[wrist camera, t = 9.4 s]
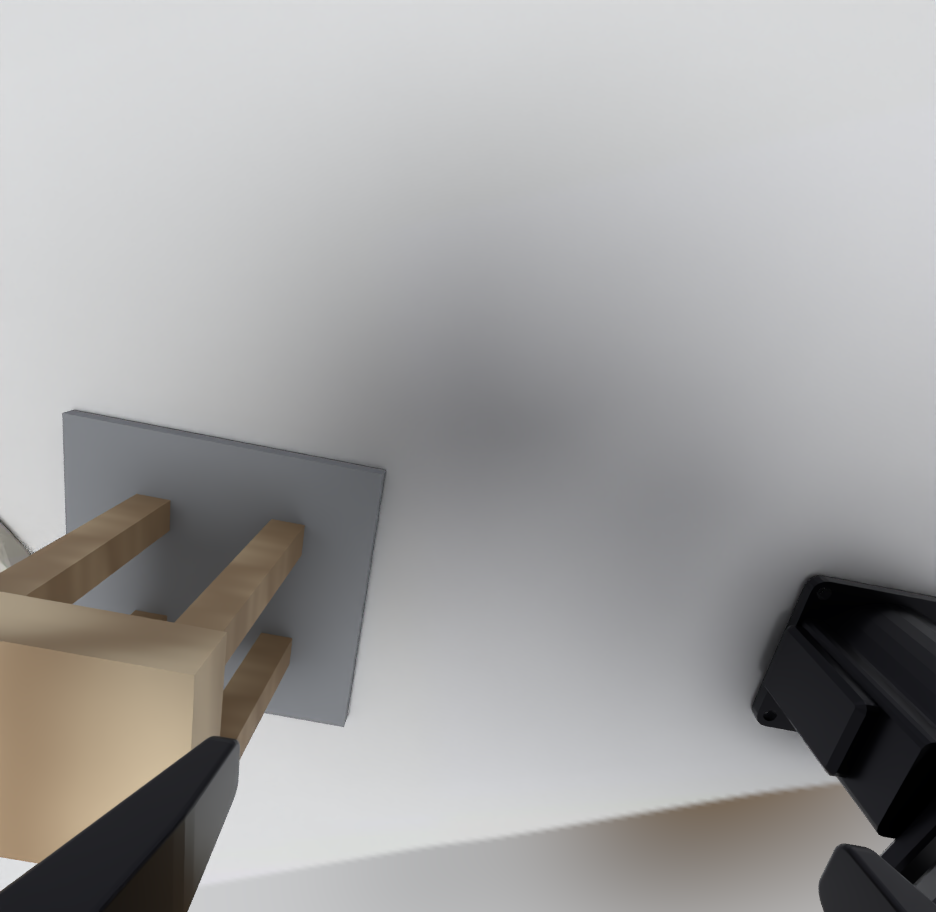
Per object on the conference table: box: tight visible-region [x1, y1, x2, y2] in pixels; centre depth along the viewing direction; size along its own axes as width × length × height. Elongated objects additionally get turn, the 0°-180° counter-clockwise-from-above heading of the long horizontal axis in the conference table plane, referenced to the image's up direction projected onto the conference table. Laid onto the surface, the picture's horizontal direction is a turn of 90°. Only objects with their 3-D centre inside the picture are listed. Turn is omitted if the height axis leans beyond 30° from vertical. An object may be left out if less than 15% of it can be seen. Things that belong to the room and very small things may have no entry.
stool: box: [0, 494, 305, 863], centre depth 16 cm, size 6×6×8 cm
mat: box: [62, 410, 386, 727], centre depth 20 cm, size 11×11×1 cm
